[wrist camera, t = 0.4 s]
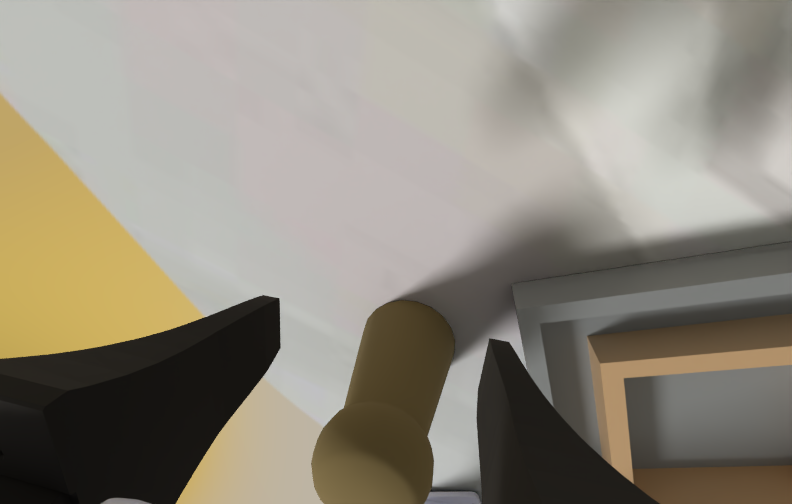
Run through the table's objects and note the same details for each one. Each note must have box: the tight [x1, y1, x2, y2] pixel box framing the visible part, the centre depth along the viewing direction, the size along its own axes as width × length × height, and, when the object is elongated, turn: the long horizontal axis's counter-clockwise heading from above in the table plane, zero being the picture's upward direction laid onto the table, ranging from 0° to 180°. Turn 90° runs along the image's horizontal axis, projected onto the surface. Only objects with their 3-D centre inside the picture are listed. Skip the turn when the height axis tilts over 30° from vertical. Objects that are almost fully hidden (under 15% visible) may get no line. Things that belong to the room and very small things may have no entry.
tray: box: [511, 242, 792, 504], centre depth 21 cm, size 18×18×3 cm
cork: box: [311, 300, 455, 504], centre depth 20 cm, size 6×6×11 cm
